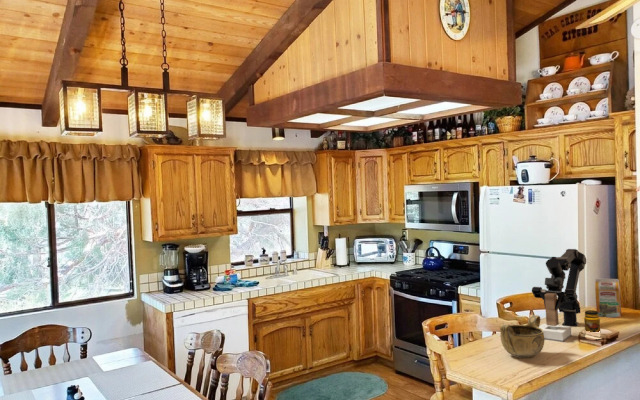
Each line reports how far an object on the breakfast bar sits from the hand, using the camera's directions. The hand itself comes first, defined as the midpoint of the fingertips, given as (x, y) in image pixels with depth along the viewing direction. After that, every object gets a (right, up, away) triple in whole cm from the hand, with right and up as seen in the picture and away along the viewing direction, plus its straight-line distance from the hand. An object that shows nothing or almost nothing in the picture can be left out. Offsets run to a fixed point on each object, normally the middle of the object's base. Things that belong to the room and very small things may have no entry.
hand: (550, 309), depth 231 cm
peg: (+1, -7, +1) cm, 8 cm away
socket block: (+2, -13, +1) cm, 13 cm away
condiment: (+17, -12, -4) cm, 21 cm away
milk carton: (+45, -10, +32) cm, 57 cm away
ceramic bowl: (-22, -14, -23) cm, 35 cm away
